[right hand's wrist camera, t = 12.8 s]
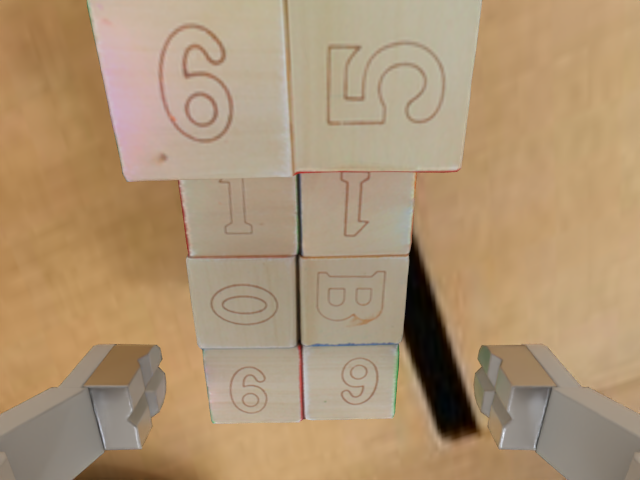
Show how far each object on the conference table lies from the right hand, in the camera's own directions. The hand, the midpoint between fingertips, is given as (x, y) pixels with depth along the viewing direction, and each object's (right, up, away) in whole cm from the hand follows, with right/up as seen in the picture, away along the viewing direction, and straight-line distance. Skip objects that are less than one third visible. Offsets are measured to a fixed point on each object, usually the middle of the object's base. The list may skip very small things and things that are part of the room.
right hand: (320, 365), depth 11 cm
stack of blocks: (-1, +11, +7) cm, 13 cm away
